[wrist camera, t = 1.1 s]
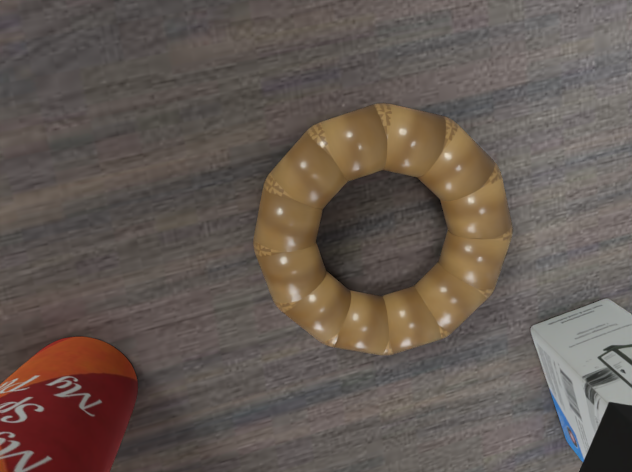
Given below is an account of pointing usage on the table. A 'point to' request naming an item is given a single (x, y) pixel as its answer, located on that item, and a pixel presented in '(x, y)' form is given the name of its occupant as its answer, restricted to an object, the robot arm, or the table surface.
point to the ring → (360, 160)
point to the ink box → (586, 366)
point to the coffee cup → (66, 408)
